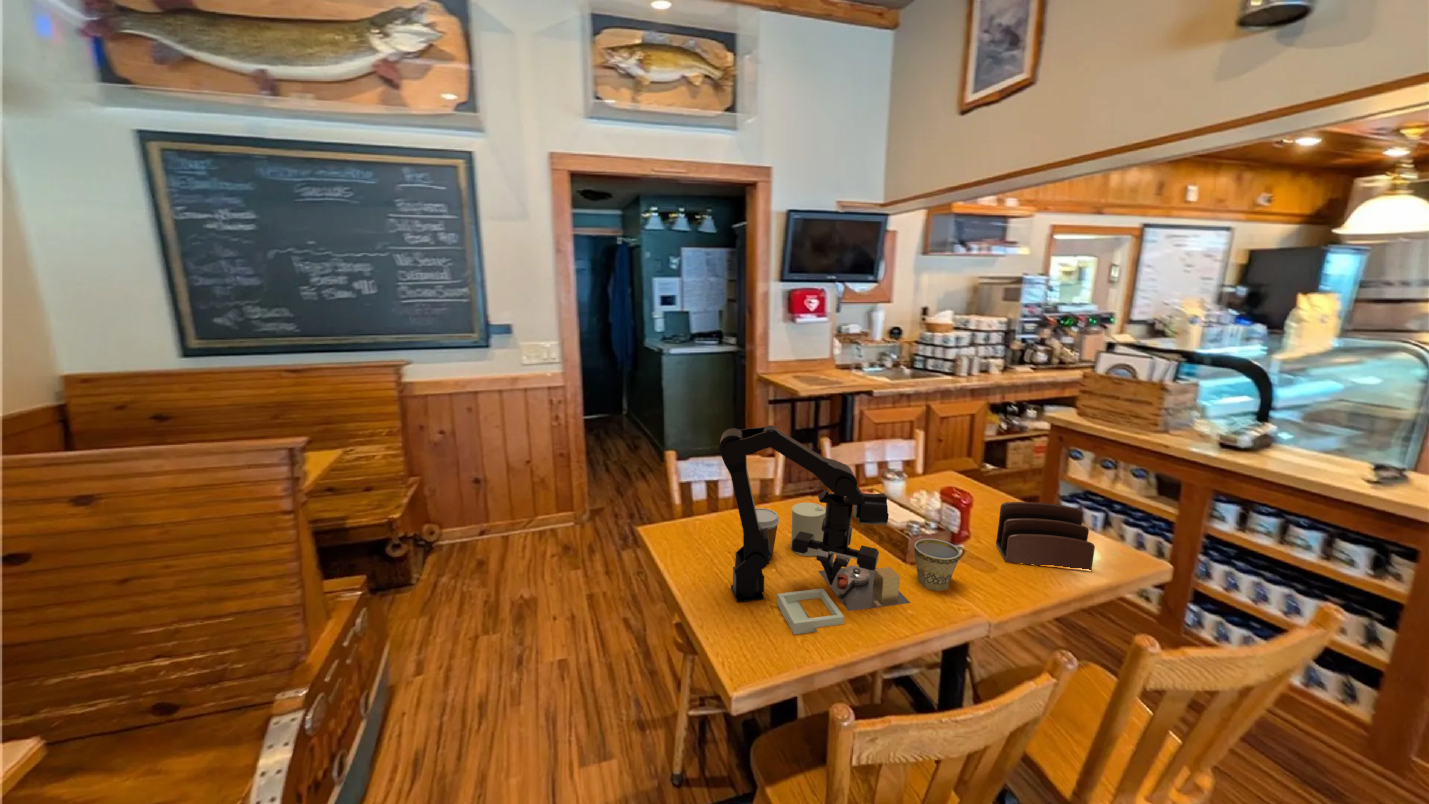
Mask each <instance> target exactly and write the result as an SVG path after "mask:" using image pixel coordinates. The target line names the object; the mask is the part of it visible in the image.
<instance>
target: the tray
mask: <svg viewBox="0 0 1429 804" xmlns="http://www.w3.org/2000/svg"><path fill="white" fill-rule="evenodd" d="M776 594H777V596H776V601H777V602H776V605H777V606H778V608H779V610H780V612H781V614H782V616H783V618H784V619H785V621H786V623H787V625H788V627H789V628H790V630H791V632H792V634H793V635H795V636H796V635H802V634H809V633H816V632H817V633H818V629H817V628H822V627H824V628H825V627H830V626H831V627H832V626H839V625H844V623H845V616H844V615H843V613H842V612H841V611H840V609H839V607H837V605H836V603H834V601H833V600H832V599H831V597H830V596H829V594H828V592H827V591H826V590H825V588H815V589H806V590H799V591H790V592H789V591H788V592H781V593H776ZM813 599H821V601H822V602H823V604H824V605H825V606H826V607H827V609H828V610H829V612H830V614H831V615H826V616H825V615H824V616H818V617H816V616H815V617H809V615H808V613H807V612H806V610H805V609H804V607H803V606H802V604H801V602H800V601H804V600H813Z"/></svg>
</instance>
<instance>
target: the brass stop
mask: <svg viewBox="0 0 1429 804" xmlns="http://www.w3.org/2000/svg"><path fill="white" fill-rule="evenodd" d="M876 568H877V569H875V570H874V583H873V593H874V594H875V595H876V597H877V598H878V599H879V600H880V601H881V602H887V601H895V600H898V591H900V590H899V587H900V579H901V578H900V574H899V573H897V572H896V571H895V570H894V569H893V568H892V567H891V566H888V567H887V566H886V567H879V568H878V567H876Z"/></svg>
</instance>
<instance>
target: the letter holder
mask: <svg viewBox="0 0 1429 804" xmlns="http://www.w3.org/2000/svg"><path fill="white" fill-rule="evenodd" d="M999 509H1000V510H999V518H998V526H997V532H996V533H997V534H996V540H995V541H996V542H995V547H996V548H997V550H998V551H999V553H1001V554H1000V556H1001V557H1002V560H1003V561H1004V560H1005V561H1004V563H1006V562H1015V563H1023V564H1022V565H1024V564H1034V565H1054V566H1063V567H1070V568H1082V569H1089V570H1092V571H1093V562H1094V556H1095V549H1096V547H1095V544H1094V543H1093V542H1091V541H1088V538H1089V531H1090V529H1089V527H1087V526H1085V525H1083V524H1082V523H1083V519H1084V511H1083V510H1082V509H1080V508H1077V507H1073V506H1070V505H1069V506H1068V505H1064V504H1063V505H1062V504H1055V503H1049V502H1048V503H1045V502H1036V501H1035V502H1034V501H1031V502H1030V501H1029V502H1028V501H1008V502H1006V501H1005V502H1003V503H1001V505H1000V508H999ZM1015 563H1014V564H1015Z"/></svg>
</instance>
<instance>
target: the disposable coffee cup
mask: <svg viewBox="0 0 1429 804" xmlns="http://www.w3.org/2000/svg"><path fill="white" fill-rule="evenodd" d="M755 508H756V507H755ZM756 513H757V518H758V522H759V525H760V526H761V528H762V529H765V528H768V537H769V540H770V541H771V551H772V556H769V562H770V561H771V560H773V556H774V550H775V543H776V537H777V531H778V525H779V523H780V518H779V515H778V513H777V512H776V511H774V510H773V509H768V508H766V507H765V508H763V507H757V508H756Z"/></svg>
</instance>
